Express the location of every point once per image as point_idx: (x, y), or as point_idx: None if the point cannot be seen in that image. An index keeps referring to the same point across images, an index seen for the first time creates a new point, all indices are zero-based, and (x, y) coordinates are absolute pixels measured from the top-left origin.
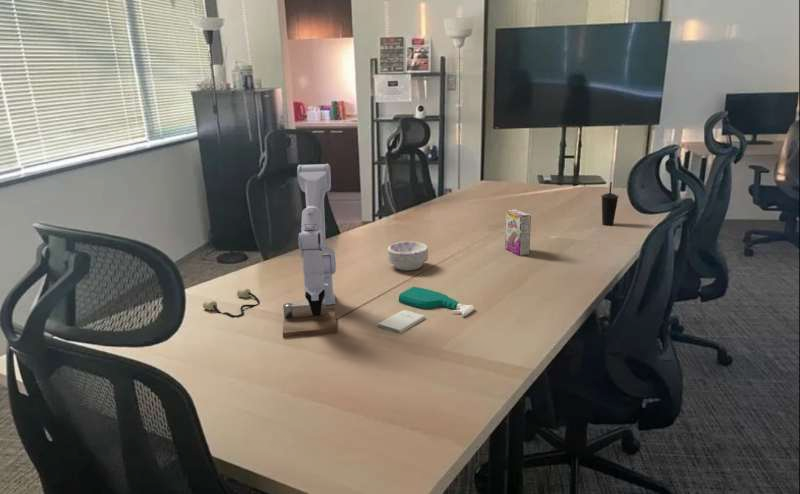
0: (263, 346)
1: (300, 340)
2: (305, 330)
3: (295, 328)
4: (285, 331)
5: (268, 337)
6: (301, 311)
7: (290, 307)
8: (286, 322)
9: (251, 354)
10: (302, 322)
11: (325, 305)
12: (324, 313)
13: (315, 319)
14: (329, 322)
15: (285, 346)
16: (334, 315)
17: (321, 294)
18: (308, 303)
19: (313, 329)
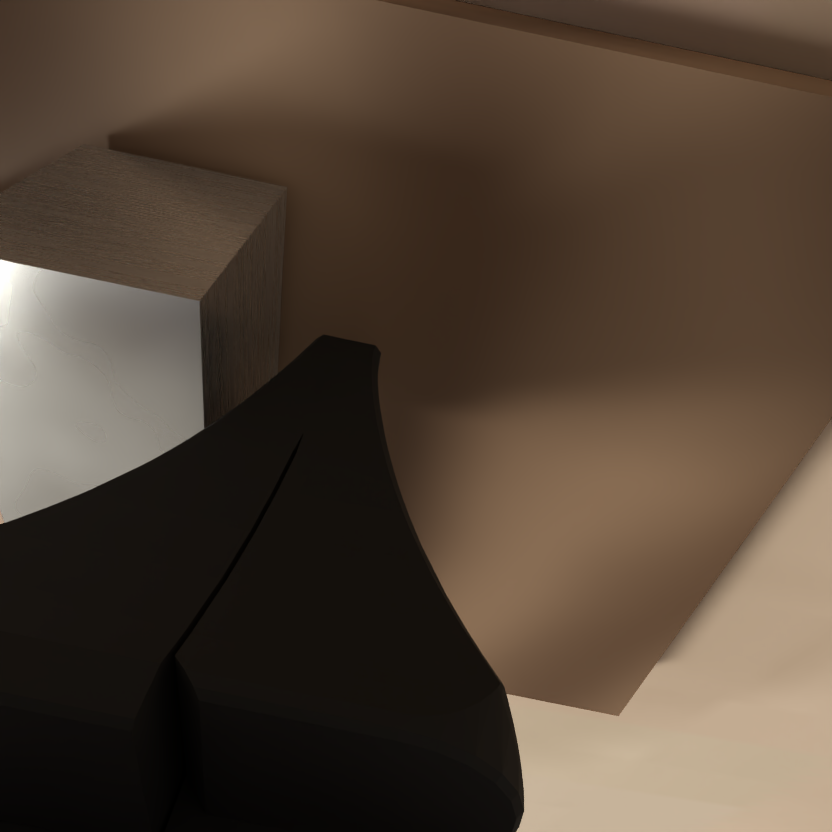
0: (685, 771)
1: (791, 577)
2: (716, 565)
3: (580, 623)
4: (603, 696)
5: (532, 724)
6: None
7: None
8: None
9: (765, 827)
10: (439, 539)
11: (216, 287)
12: (279, 237)
13: (405, 388)
14: (652, 211)
15: (818, 685)
16: (343, 14)
17: (400, 808)
18: None
19: (758, 488)
